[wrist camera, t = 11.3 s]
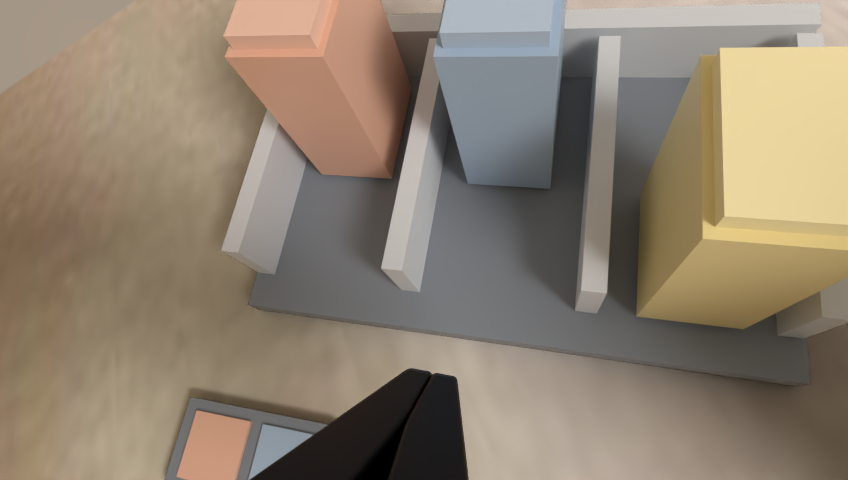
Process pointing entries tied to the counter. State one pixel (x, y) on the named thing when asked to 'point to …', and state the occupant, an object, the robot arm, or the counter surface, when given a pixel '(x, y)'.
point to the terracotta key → (326, 78)
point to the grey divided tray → (521, 209)
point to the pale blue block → (502, 86)
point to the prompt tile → (233, 441)
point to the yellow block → (748, 189)
